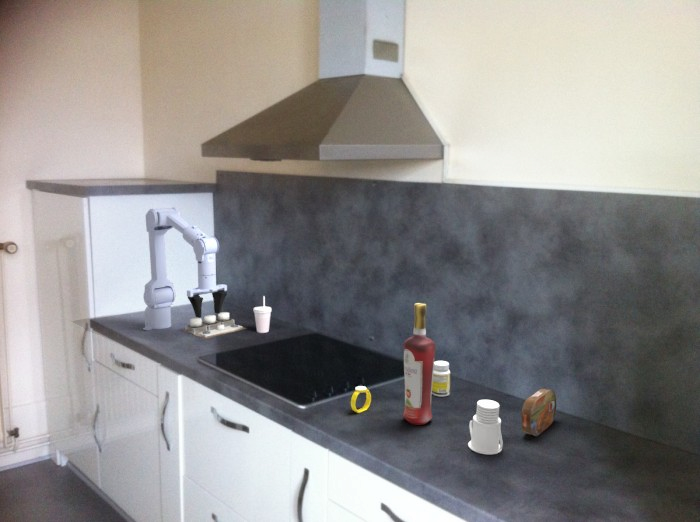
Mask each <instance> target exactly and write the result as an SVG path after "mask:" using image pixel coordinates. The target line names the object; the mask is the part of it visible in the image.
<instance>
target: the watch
mask: <svg viewBox="0 0 700 522" xmlns="http://www.w3.org/2000/svg"><path fill="white" fill-rule="evenodd" d="M360 393H365V394H366V395H365V398H366V399H365V403H364V405H363V406H362V407H361V408H359V409H357V407H356V402H357V398H358V396H359V395H360ZM371 402H372V393H371V392H370V390H369V389H368V388H367V387H366V386H365V385H364V386H363V385H358V386H355V390H354V392H353V394H352V396H351V398H350V406H351V407H350V408H351V411H354V412H355V413H357V414H360V413H363V412H365V411H367V410H369V407H370V405H371Z"/></svg>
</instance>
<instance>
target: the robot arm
mask: <svg viewBox="0 0 700 522" xmlns="http://www.w3.org/2000/svg"><path fill="white" fill-rule="evenodd" d="M145 225H146V226H145V227H146V232H147V233H148V247H149V257H150V258H149V261H150V273H151V274H150V275H151V279H150V280H149V281H147V283H145V285H144V292H143V302H144V303H145V305H146V307H145V310H144V327H143V328H142V329H143V330H145V331H151V330H155V329H156V330H163V329H168V328H170V327H172V314H171V312H172V310H171V309H172V308H171V307H172V306H173V303H174V302H175V300H176V291H175V288H174V282H173V281H171V280H170V279H168V277H167V276H168V274H167V262H166V261H167V260H166V259H167V257H166V246H165V245H166V244H165V243H166V242H165V234H166V233H167V232H168V231H169V230H171V229H172V228H174V229H175V230H177V231H178V232H179V233H181V234H182V239H183V240H184V241H185V242H186V243H188V244H189V245H190V246H191V247H192V251H193V252H194V255H195V260H196V262H197V281H198V283H197V284H198V285H197V287H194V288H191V289H188V290H186V297H187V300H188V301H189V302H190V304H191V306H192V309H193V312H194V316H195V318H201V319H202V306H203V305H202V304H203V300H204V297H203V296H202V297H201V296H200V295H206V294H211V295H212V298H213V310H214V311H213V312H214V314H217V315H218V314H220V312H222V306H223V303H224V301H225V298H226V297H227V293H228V292H227V291H228V285H227V284H221V283H220V284H217V271H216V269H217V268H216V266H217V263H216V258H217V257H216V254H218V252H219V250H220V243H219V240H218V239H217V238H216V236H213V235H212V236H210V235H207V234H206V233H205V232H203V231H202V230H201V229H200V228H199V226H197V225H190V224H189V223H187V221H186V220H185V219H184V218H183V217H182V216H181V212H180V211H179V210H178V209H177V208H176V207H170V208H169V207H168V208H167V207H166V208H150V209H148V211H147V212H146V214H145Z"/></svg>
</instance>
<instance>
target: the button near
mask: <svg viewBox="0 0 700 522" xmlns="http://www.w3.org/2000/svg"><path fill="white" fill-rule="evenodd" d="M202 322H203V319H202V317H201V318H198V317H192V318H190V319H189V325H190V326H191V327H199V326H202Z"/></svg>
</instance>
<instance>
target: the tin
mask: <svg viewBox="0 0 700 522" xmlns="http://www.w3.org/2000/svg"><path fill="white" fill-rule="evenodd" d="M556 409H557V396H556V393H555V391H554V389H545V388H541V389H539V390H537V391H535V392H534V393H533V394H532V395H530V396H529V397H527V398H526V400H524V403H523V405H522V409H521V430H522V431H523V433H524V434H526V435H531V436H534V437H538V436H540V435H541V434H542V433H543V432H544V431H545V430H547V429H548V428H549V427H550V426H552V424H553V423H554V419H555V416H556V411H557V410H556Z"/></svg>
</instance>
